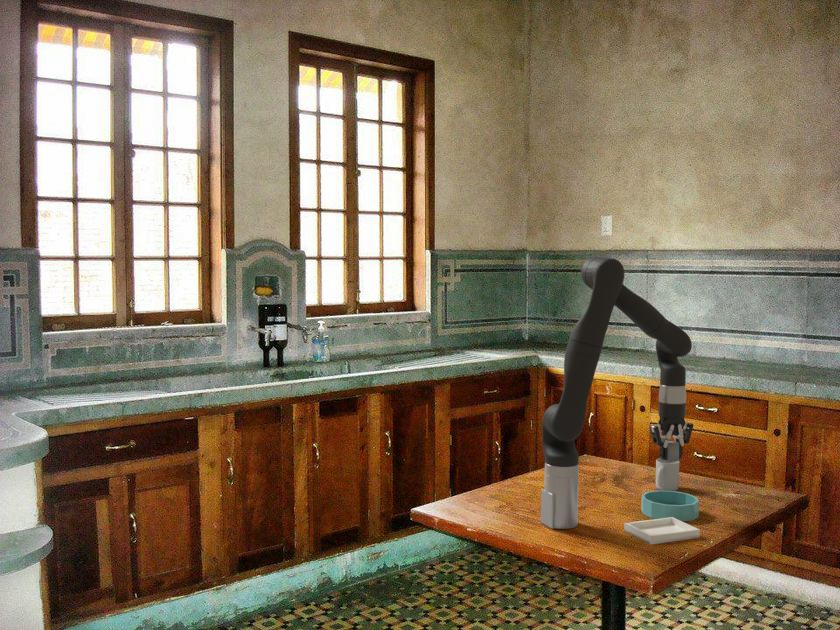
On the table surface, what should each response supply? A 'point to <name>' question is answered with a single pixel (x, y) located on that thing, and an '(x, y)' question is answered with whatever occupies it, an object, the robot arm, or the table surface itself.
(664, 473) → the cup
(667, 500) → the bowl
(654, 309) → the robot arm
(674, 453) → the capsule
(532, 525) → the table surface
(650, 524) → the tray
